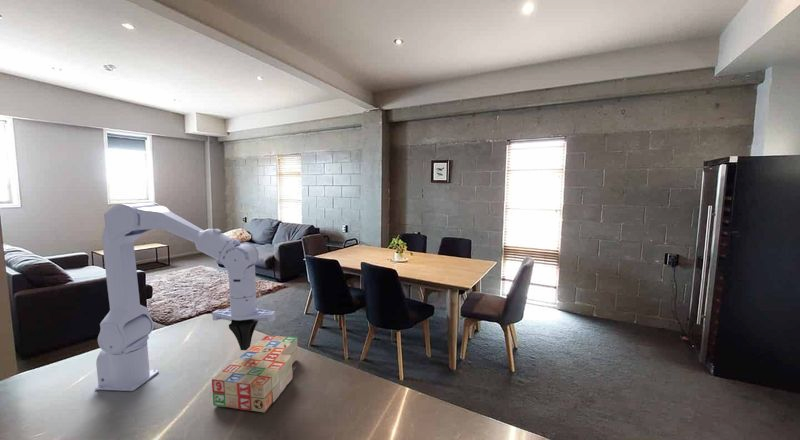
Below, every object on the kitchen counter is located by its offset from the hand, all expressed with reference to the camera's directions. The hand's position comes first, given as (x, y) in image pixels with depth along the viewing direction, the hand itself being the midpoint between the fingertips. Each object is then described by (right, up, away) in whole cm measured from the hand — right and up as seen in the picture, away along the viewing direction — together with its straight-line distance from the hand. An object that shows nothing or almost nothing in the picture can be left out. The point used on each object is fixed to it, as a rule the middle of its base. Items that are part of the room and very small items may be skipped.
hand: (245, 348), depth 79 cm
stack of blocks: (-1, -5, +1) cm, 5 cm away
